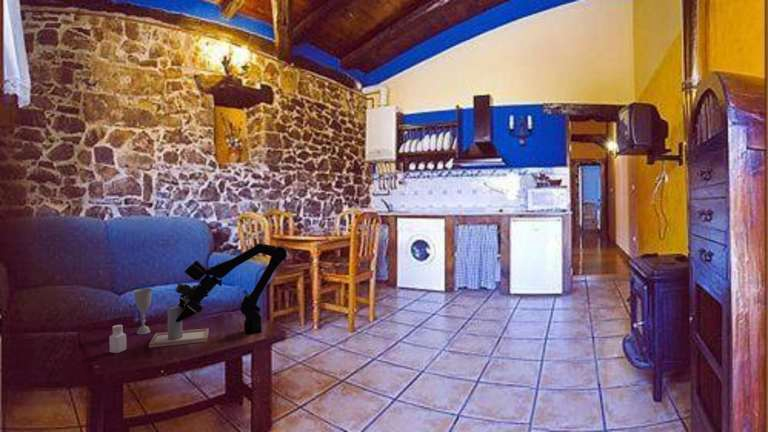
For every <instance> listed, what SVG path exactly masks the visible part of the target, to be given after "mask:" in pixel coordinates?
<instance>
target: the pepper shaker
mask: <svg viewBox="0 0 768 432" xmlns="http://www.w3.org/2000/svg"><path fill="white" fill-rule="evenodd" d="M123 326H124V325H122V324H116V325H113V326H112V334H110V336H109V339H108V340H109V352H110V353H113V354H119V353H121V352H124V351H126V350H127V334H126V333H124V331H123V330H124V328H123Z"/></svg>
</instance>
